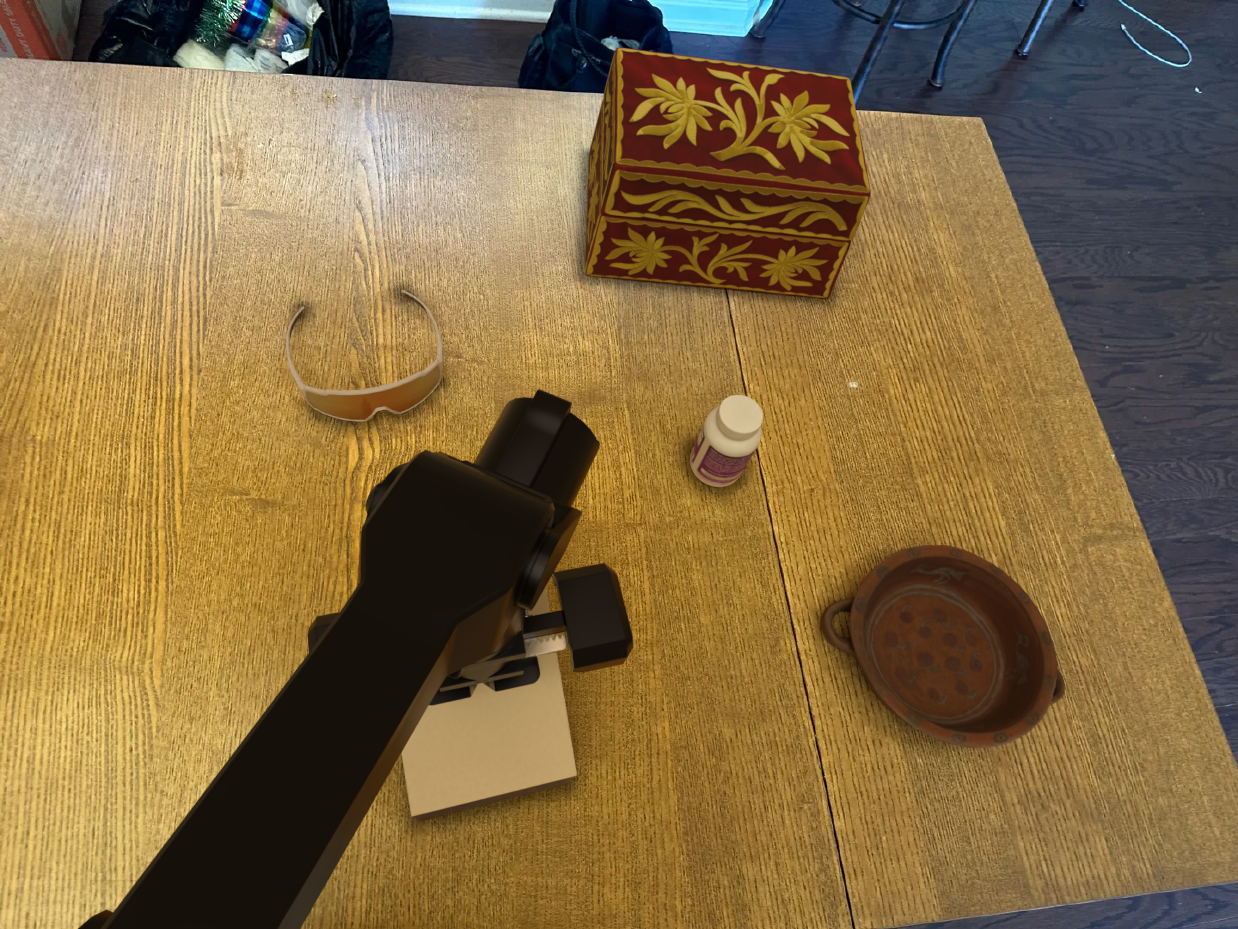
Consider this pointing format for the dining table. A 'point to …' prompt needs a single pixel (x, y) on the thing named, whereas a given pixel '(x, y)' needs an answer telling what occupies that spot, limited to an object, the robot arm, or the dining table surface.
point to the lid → (491, 741)
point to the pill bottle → (727, 441)
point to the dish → (951, 646)
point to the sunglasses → (374, 399)
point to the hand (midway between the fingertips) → (477, 671)
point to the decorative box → (723, 175)
